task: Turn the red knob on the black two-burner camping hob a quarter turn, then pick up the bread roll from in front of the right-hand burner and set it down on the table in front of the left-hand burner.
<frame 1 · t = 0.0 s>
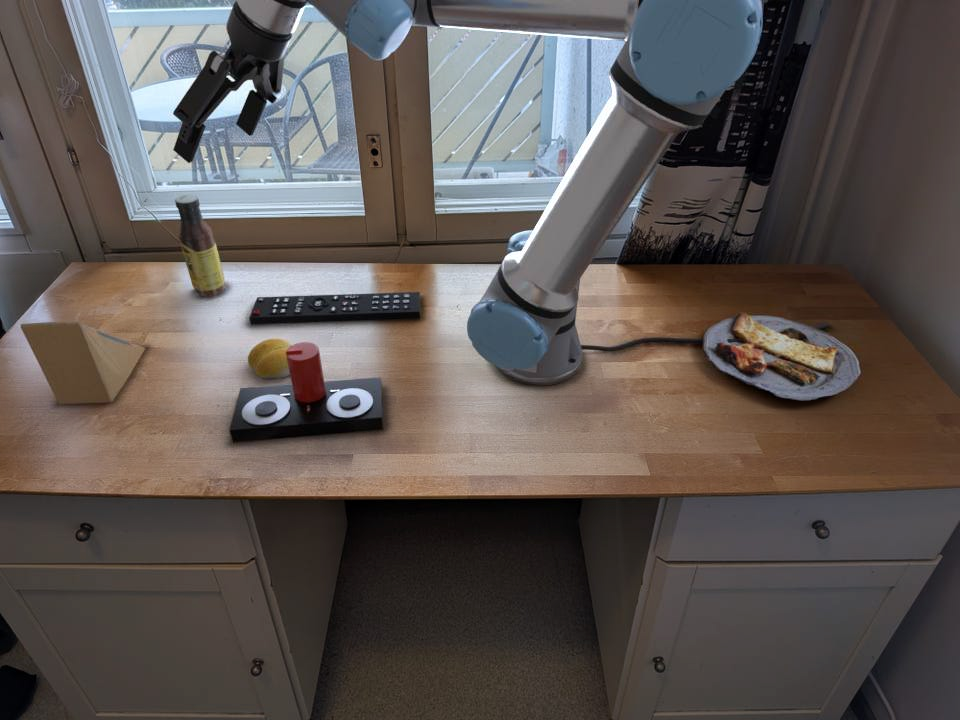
hand: (215, 142, 96), 36 cm above the table, tool tilted 35°, fingers open, 13 cm apart
food plate: (774, 362, 113), on the table
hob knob: (306, 371, 99), point 7 cm above the table, hinge at 0.0°
hob: (311, 414, 101), on the table
bread roll: (275, 366, 111), on the table
remote control: (337, 312, 126), on the table
burner rings: (308, 405, 98), on the hob, point 2 cm above the table
sauce bottle: (211, 291, 132), on the table
sandwich container: (105, 375, 109), on the table
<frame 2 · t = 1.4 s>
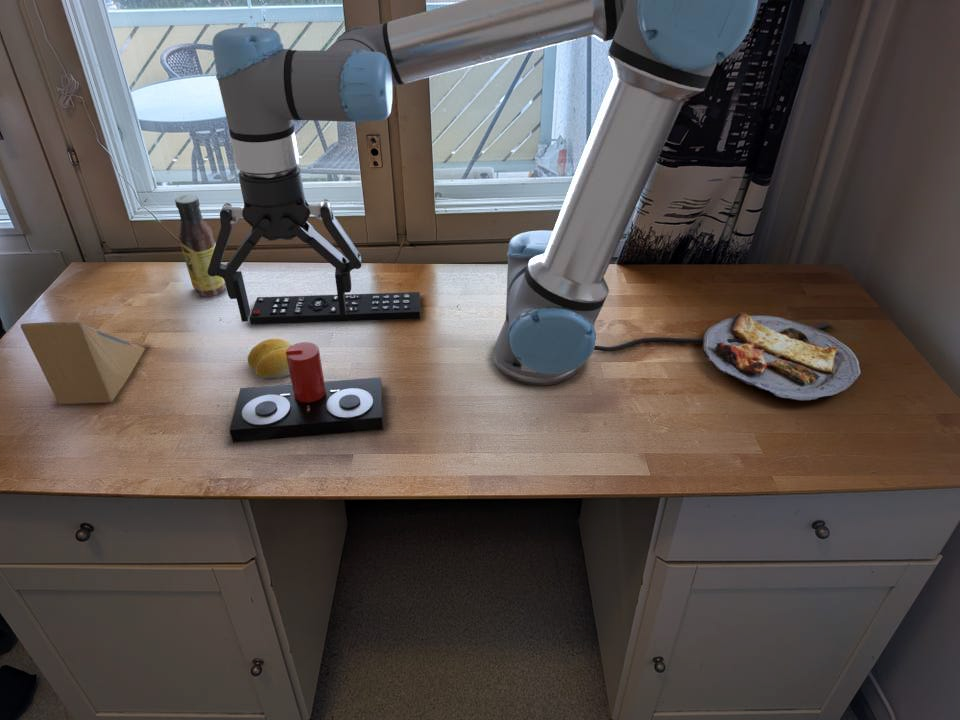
hand: (295, 314, 93), 17 cm above the table, tool pointing down, fingers open, 13 cm apart
nothing on the table moved.
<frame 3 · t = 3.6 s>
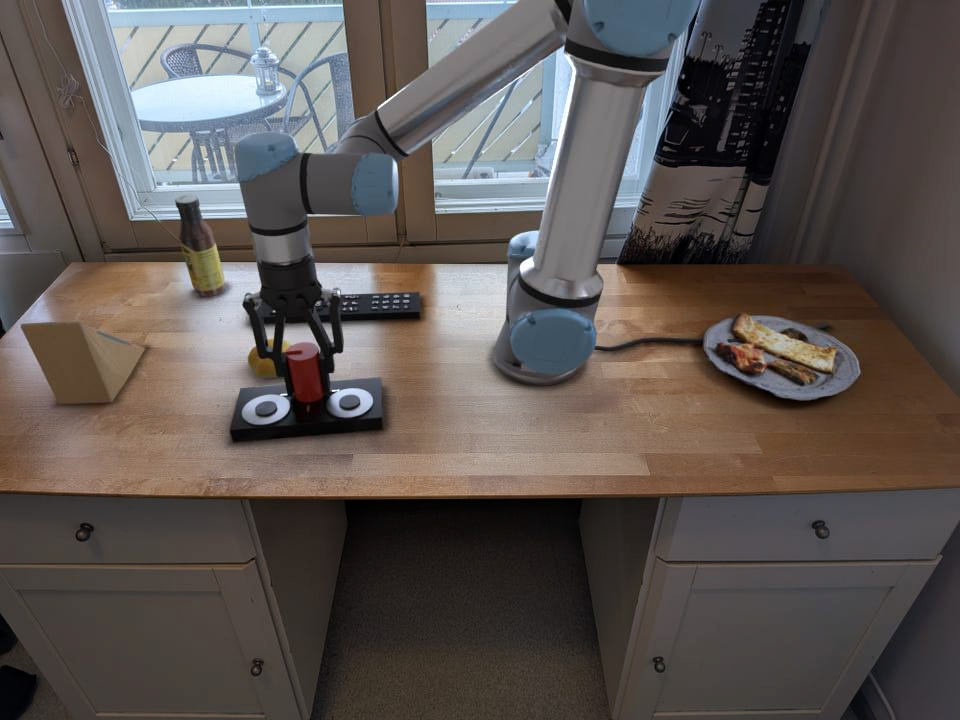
hand: (309, 389, 101), 3 cm above the table, tool pointing down, fingers closed on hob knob, 5 cm apart
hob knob: (306, 371, 99), point 7 cm above the table, hinge at 0.0°, touching gripper
everything else where it was.
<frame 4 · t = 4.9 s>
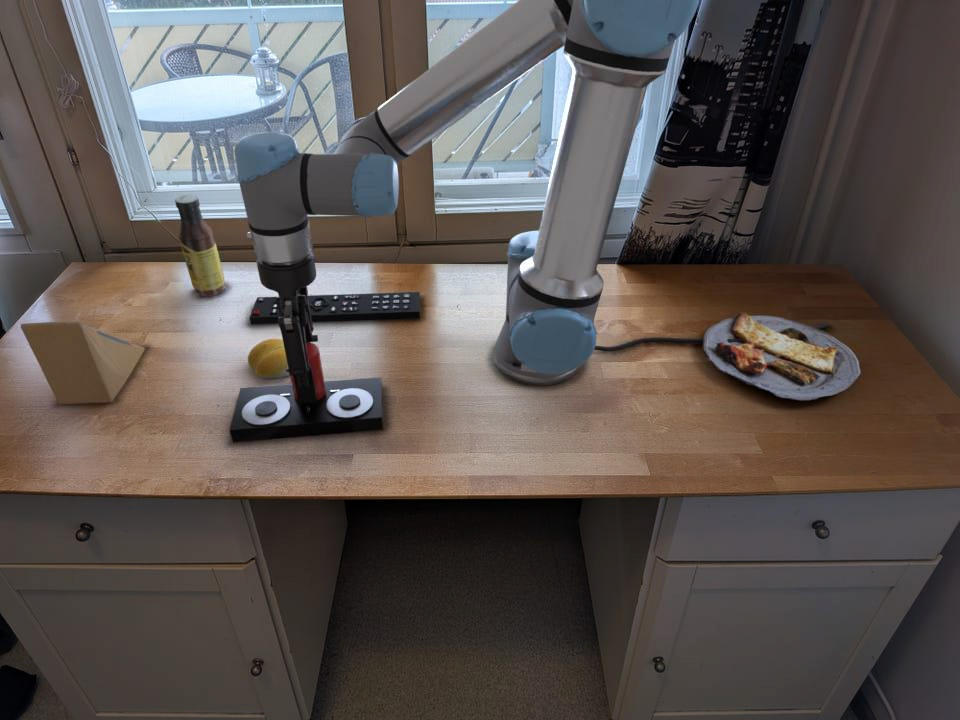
hand: (309, 389, 101), 3 cm above the table, tool pointing down, fingers open, 5 cm apart
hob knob: (306, 371, 99), point 7 cm above the table, hinge at 90.2°
everything else where it was.
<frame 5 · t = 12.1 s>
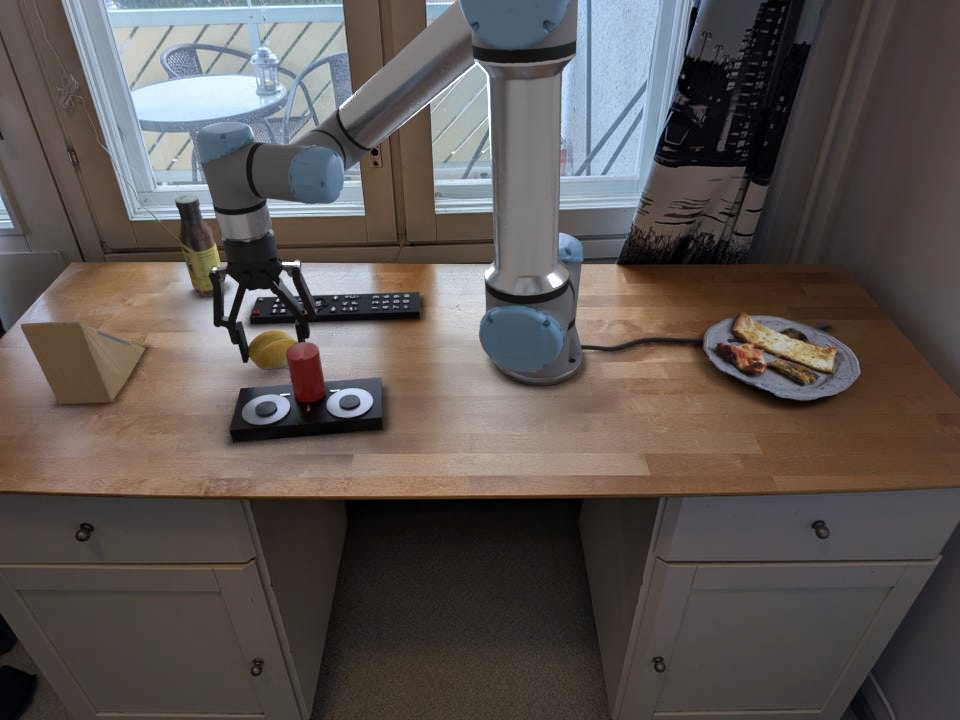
hand: (275, 355, 110), 2 cm above the table, tool pointing down, fingers closed on bread roll, 9 cm apart
bread roll: (276, 358, 110), point 2 cm above the table, touching gripper
everything else where it was.
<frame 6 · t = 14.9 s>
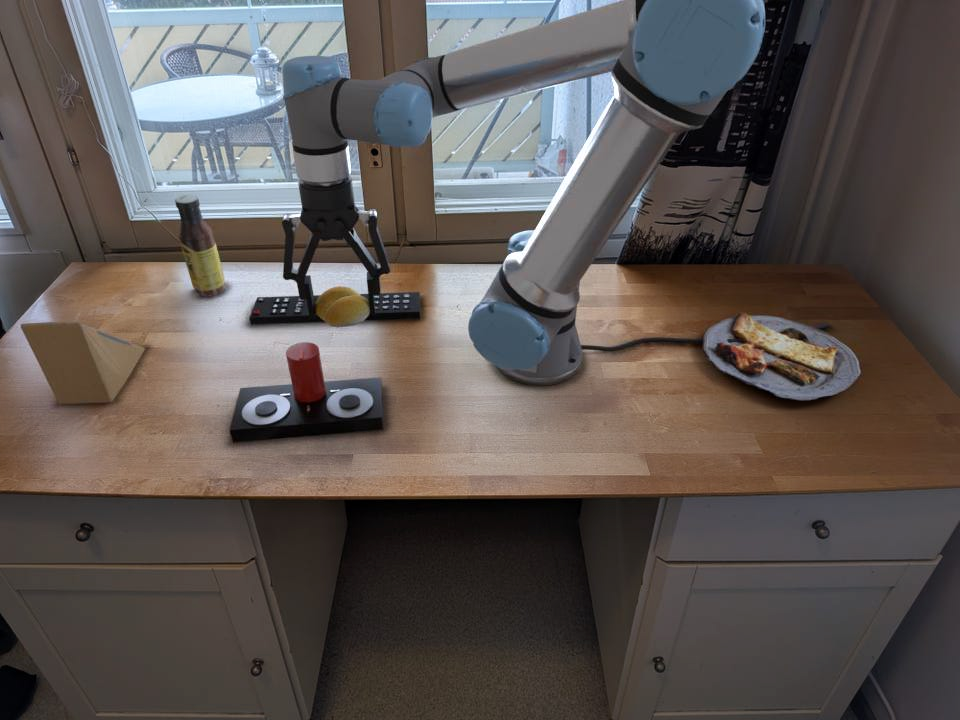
hand: (343, 313, 105), 11 cm above the table, tool pointing down, fingers closed on bread roll, 9 cm apart
bread roll: (343, 315, 105), point 10 cm above the table, touching gripper
everything else where it was.
when the fingers open (0 cm above the table, at t = 17.7 s): bread roll stays where it is, on the table.
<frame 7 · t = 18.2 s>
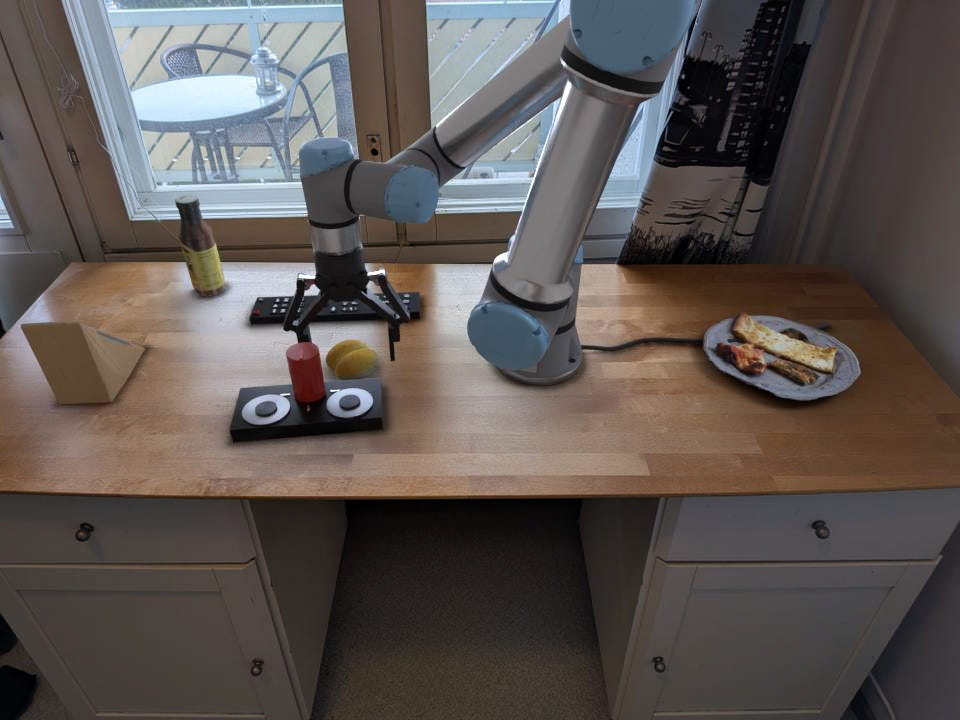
hand: (352, 359, 110), 1 cm above the table, tool pointing down, fingers open, 13 cm apart
bread roll: (353, 367, 111), on the table
everything else where it was.
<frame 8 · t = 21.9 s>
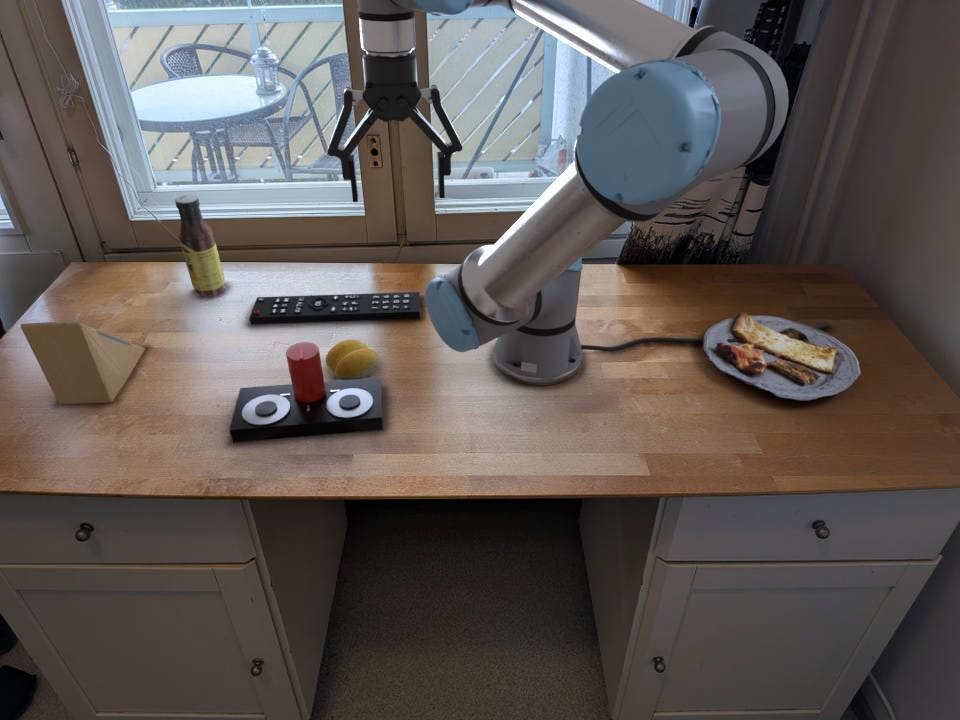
hand: (398, 197, 103), 27 cm above the table, tool pointing down, fingers open, 13 cm apart
nothing on the table moved.
at the end: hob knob at +90° (first picture: +0°); bread roll inside the target area (0.5 cm from its centre), on the table; the gripper is holding nothing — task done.
